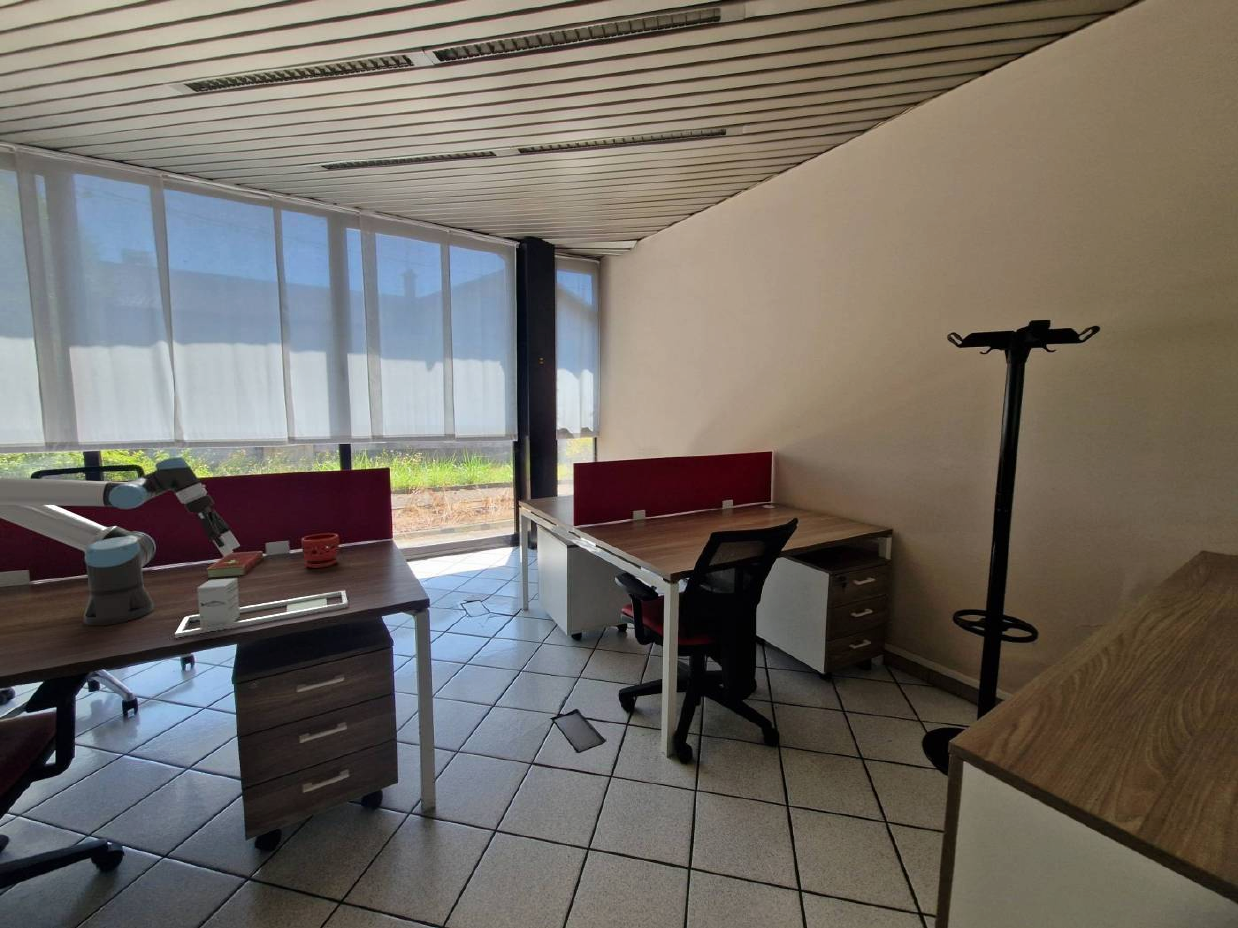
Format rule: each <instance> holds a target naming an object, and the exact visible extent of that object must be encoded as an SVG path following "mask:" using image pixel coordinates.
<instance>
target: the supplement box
mask: <svg viewBox="0 0 1238 928" xmlns="http://www.w3.org/2000/svg"><path fill="white" fill-rule="evenodd" d="M196 588H197V589H196V590H197V601H198V612H199V613H198V614H199V616H200V620H199V628H203V627H209V626H214V625H220V624H226V623H231V622H236V621H238V619H239V618H240V613H239V608H240V605H239V604H240V602H239V587H238V578H237V577H235V578H220V579H209V580H208V581H206V582H204V583H202V584H201V585H199V586H198V587H196Z"/></svg>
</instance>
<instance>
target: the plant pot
mask: <svg viewBox="0 0 1238 928" xmlns="http://www.w3.org/2000/svg"><path fill="white" fill-rule="evenodd" d="M339 539H340V537H339V535H338V534H337V533H318V534H317V533H316V534H312V535H307V536H304V537H302V538H301V539H300V540H301V549H302V550H301V551H302V554H303V556H304V558H305V560H306V561H304V564H305V566H306V567H308V568H312V569H313V568H315V569H317V568H325V567H330V566H332V565H334V564H336V563H337V562H338V559H339V557H337V554H338V551H339V545H340V540H339Z"/></svg>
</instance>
